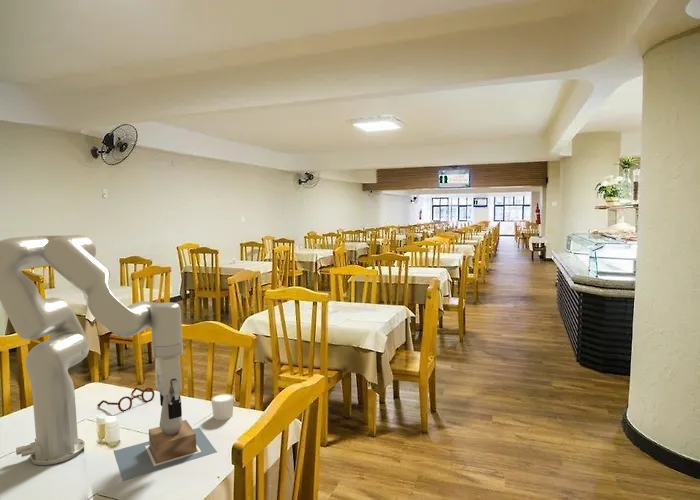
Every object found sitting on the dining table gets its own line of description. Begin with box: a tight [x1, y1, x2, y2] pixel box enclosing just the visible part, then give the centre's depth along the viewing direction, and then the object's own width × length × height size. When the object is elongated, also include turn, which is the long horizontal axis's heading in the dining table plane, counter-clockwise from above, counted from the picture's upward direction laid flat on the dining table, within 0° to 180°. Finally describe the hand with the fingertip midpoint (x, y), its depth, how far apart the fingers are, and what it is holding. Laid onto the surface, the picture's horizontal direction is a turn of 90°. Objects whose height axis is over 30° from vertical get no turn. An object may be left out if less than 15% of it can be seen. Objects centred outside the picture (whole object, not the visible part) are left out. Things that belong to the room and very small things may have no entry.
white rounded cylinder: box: [210, 393, 234, 421], centre depth 145 cm, size 7×7×7 cm
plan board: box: [113, 427, 218, 482], centre depth 125 cm, size 23×17×1 cm
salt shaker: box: [159, 391, 183, 435], centre depth 125 cm, size 6×6×13 cm
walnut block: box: [148, 419, 197, 463], centre depth 126 cm, size 10×10×5 cm
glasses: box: [97, 387, 155, 413], centre depth 160 cm, size 13×13×5 cm
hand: (170, 410), depth 125 cm, fingers open, 9 cm apart
